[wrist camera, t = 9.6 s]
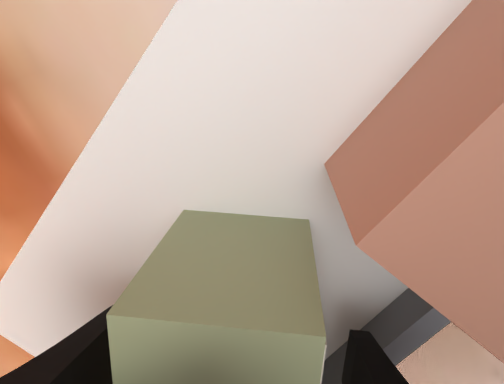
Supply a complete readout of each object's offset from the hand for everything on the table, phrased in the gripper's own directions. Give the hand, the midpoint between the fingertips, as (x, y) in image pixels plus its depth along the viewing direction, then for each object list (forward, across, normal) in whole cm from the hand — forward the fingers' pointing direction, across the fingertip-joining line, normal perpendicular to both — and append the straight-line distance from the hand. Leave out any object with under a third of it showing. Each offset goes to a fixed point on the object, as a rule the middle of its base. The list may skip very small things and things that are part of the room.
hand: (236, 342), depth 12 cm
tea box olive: (+2, 0, 0) cm, 2 cm away
